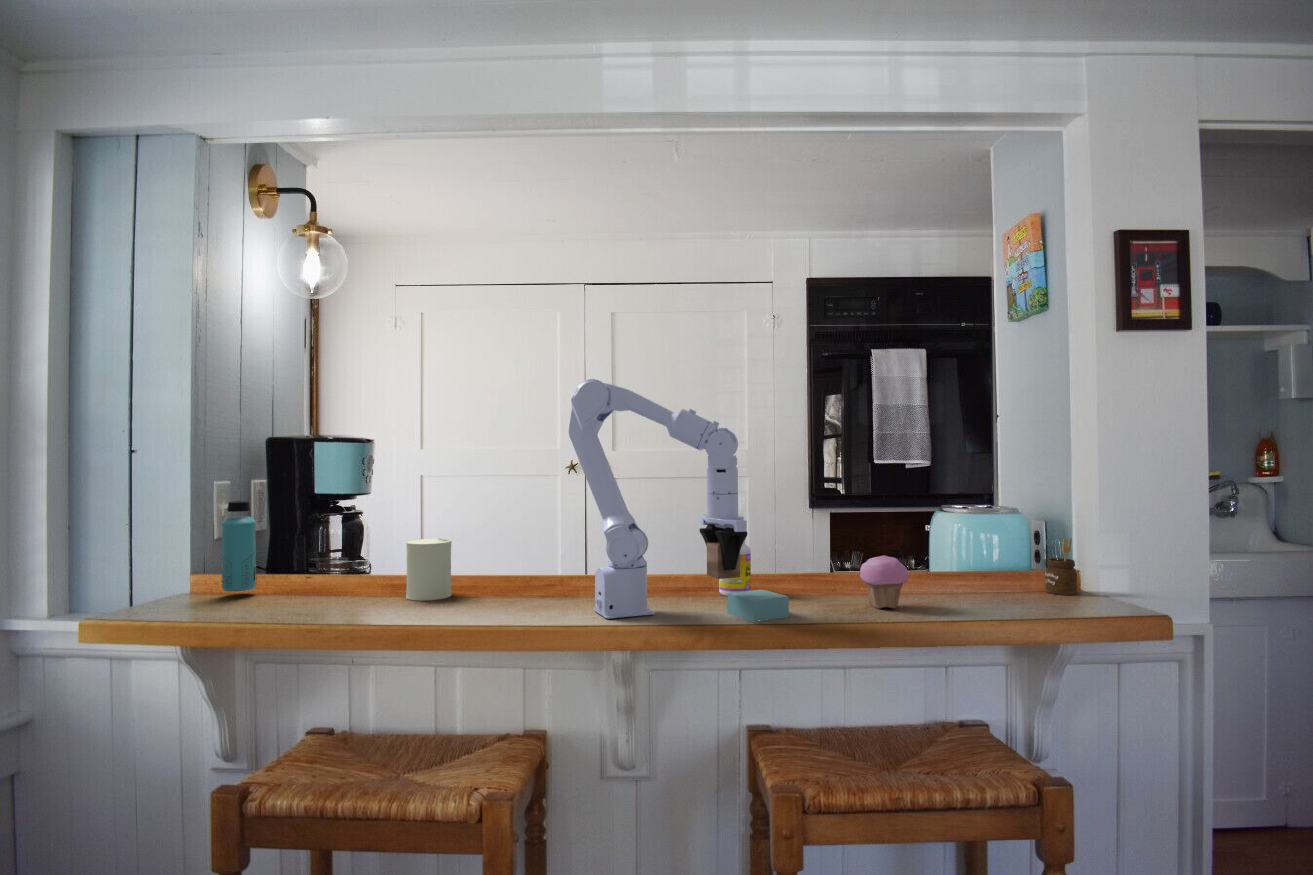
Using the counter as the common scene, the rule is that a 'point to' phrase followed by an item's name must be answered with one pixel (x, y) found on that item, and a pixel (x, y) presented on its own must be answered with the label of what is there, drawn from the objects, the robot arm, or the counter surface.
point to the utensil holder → (1061, 573)
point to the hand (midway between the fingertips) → (723, 567)
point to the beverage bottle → (238, 550)
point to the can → (428, 569)
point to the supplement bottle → (745, 575)
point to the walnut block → (719, 563)
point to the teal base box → (758, 605)
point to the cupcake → (883, 580)
